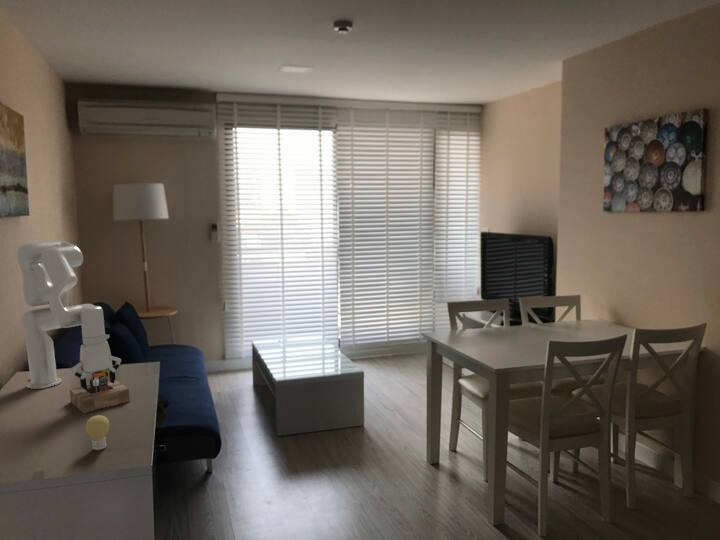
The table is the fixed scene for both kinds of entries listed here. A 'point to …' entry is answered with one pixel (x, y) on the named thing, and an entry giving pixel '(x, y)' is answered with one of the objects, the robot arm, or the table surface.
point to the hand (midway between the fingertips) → (98, 385)
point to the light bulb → (97, 431)
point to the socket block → (99, 397)
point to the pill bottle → (98, 382)
